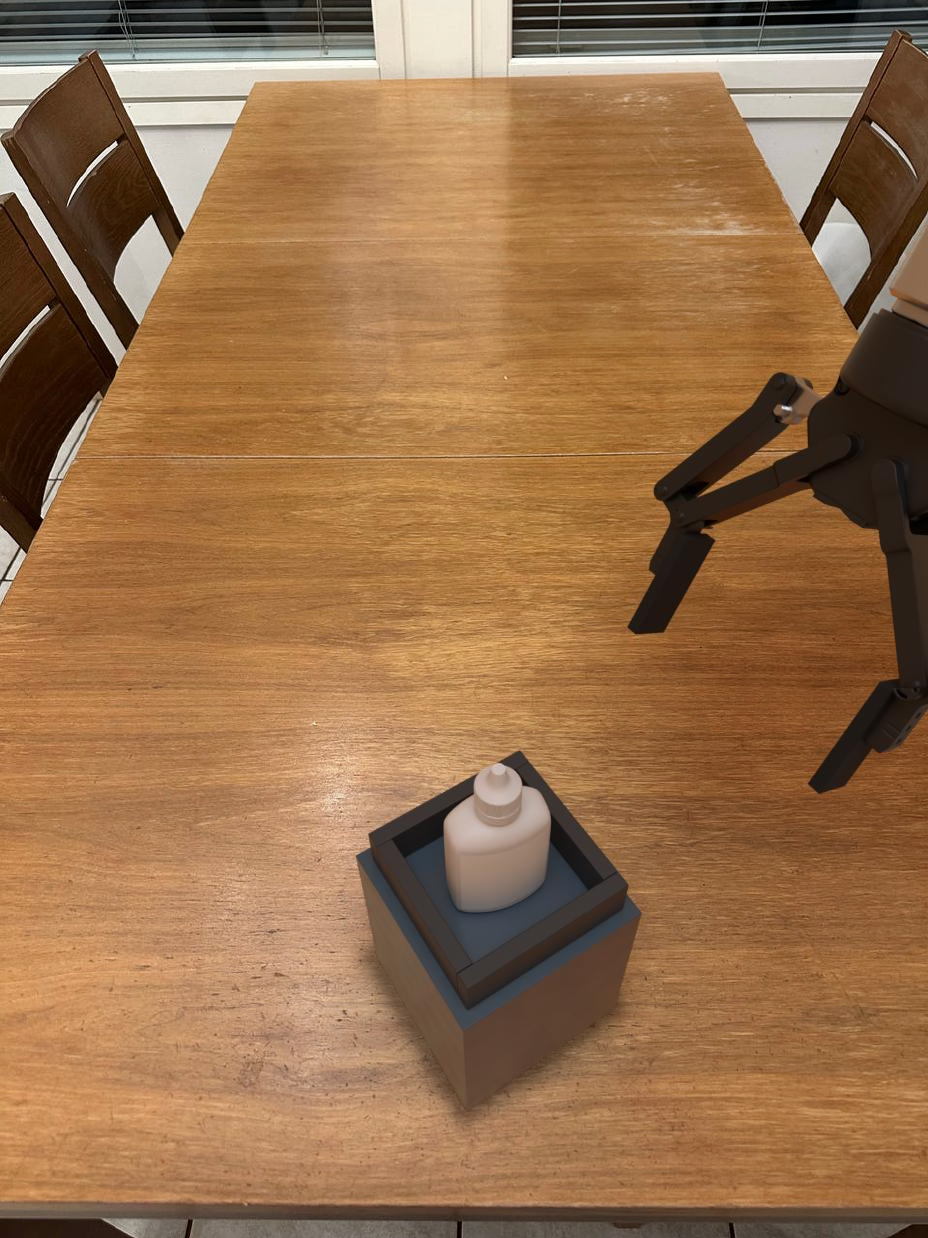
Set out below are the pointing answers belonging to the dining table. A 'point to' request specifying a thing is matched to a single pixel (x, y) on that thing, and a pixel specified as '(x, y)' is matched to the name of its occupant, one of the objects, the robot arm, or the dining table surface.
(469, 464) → the dining table surface
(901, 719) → the robot arm
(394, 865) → the pedestal
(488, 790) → the eye dropper bottle
